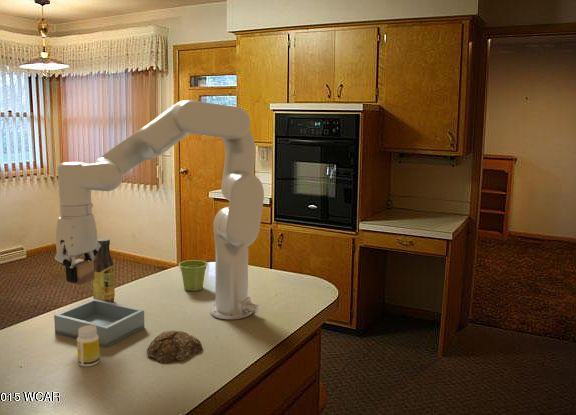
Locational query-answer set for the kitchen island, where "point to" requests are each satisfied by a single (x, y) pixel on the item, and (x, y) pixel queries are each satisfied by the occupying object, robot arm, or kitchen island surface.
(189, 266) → the plant pot
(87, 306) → the tote
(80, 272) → the walnut block
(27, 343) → the kitchen island surface
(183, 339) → the bread roll
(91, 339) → the supplement bottle
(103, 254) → the sauce bottle
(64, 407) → the kitchen island surface
